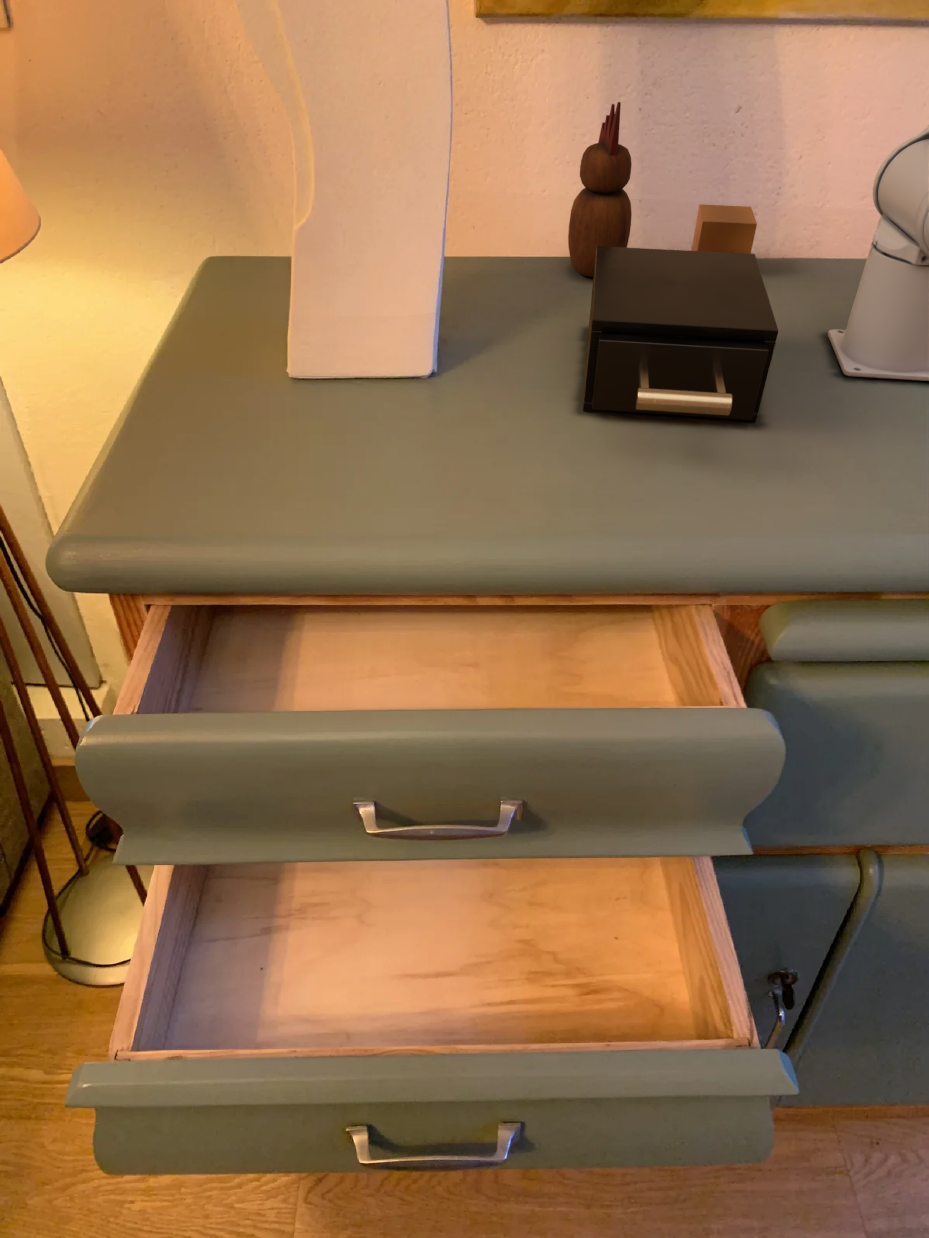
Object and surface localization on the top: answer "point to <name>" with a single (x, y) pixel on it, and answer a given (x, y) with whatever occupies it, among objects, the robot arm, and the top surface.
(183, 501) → the top surface
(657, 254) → the dark drawer cabinet
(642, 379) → the black drawer
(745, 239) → the block
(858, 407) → the top surface
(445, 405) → the top surface
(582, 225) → the wooden figurine
